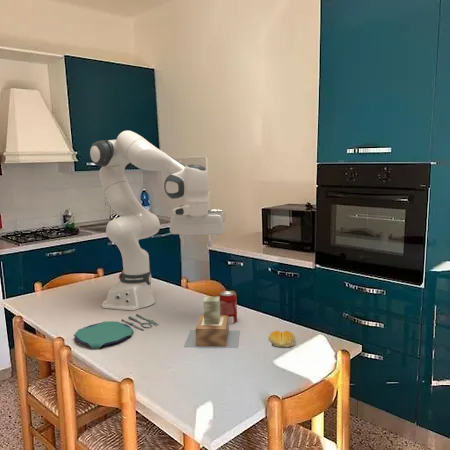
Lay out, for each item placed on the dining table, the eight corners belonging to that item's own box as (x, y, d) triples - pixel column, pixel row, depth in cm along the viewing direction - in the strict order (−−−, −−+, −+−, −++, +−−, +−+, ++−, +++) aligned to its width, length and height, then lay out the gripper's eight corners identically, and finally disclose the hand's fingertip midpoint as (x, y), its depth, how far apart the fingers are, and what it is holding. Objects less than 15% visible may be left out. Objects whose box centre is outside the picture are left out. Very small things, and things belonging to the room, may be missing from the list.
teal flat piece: (65, 337, 156) (64, 331, 156) (135, 315, 177) (135, 310, 177) (92, 355, 142) (92, 348, 142) (165, 329, 163) (165, 323, 163)
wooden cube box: (196, 345, 144) (195, 328, 143) (201, 331, 156) (200, 314, 155) (226, 346, 143) (225, 328, 142) (228, 331, 155) (228, 315, 154)
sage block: (204, 324, 146) (203, 301, 145) (206, 318, 151) (205, 296, 150) (218, 324, 146) (218, 301, 144) (220, 318, 151) (219, 296, 149)
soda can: (235, 327, 161) (234, 296, 159) (217, 326, 162) (216, 295, 160) (238, 320, 168) (237, 290, 166) (221, 319, 169) (220, 289, 167)
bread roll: (270, 337, 152) (270, 326, 152) (295, 339, 150) (296, 328, 150) (266, 347, 144) (266, 335, 144) (293, 349, 142) (293, 338, 142)
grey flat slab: (183, 349, 143) (183, 347, 143) (190, 332, 157) (190, 330, 157) (238, 350, 142) (238, 347, 142) (240, 333, 156) (240, 330, 156)
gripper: (225, 208, 162) (225, 244, 164) (171, 207, 164) (172, 243, 166) (224, 210, 156) (224, 248, 158) (168, 210, 157) (169, 247, 160)
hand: (197, 246), depth 162 cm, fingers open, 8 cm apart
